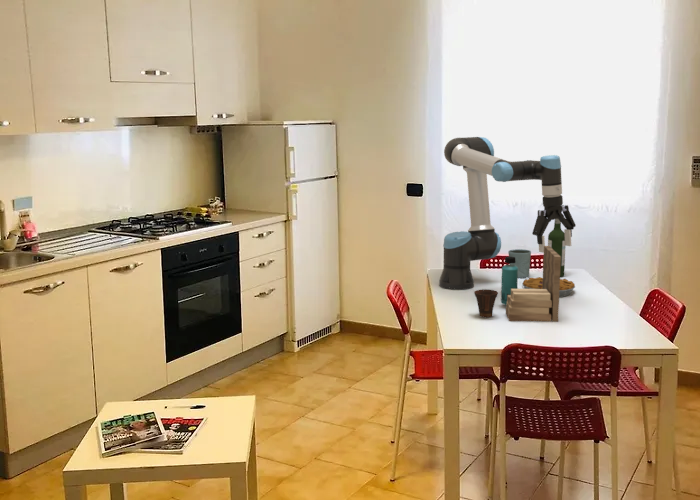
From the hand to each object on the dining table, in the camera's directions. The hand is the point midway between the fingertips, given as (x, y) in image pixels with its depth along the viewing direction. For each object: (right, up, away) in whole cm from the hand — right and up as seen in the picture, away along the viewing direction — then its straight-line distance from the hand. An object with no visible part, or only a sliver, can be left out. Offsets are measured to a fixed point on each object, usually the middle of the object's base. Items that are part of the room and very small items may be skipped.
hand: (555, 248), depth 294 cm
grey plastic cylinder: (-3, -13, +51) cm, 53 cm away
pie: (+3, -18, +22) cm, 29 cm away
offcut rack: (-13, -24, -11) cm, 30 cm away
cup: (-30, -25, -14) cm, 42 cm away
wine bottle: (+14, -13, +52) cm, 55 cm away
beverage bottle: (-19, -23, -2) cm, 30 cm away
